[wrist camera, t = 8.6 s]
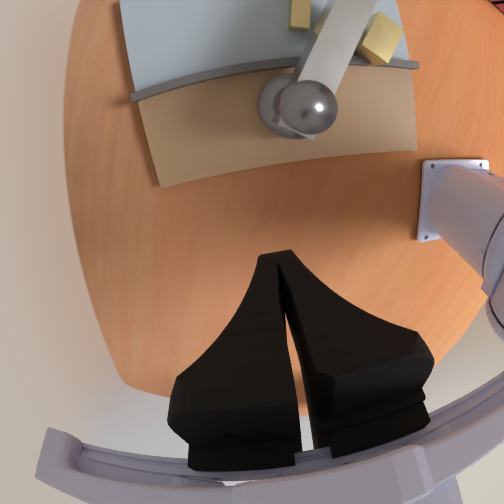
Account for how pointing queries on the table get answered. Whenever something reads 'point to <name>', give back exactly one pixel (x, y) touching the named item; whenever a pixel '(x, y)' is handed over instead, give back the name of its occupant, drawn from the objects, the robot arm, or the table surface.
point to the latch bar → (322, 68)
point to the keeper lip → (299, 15)
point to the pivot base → (267, 106)
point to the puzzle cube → (499, 4)
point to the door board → (250, 87)
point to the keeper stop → (379, 39)
